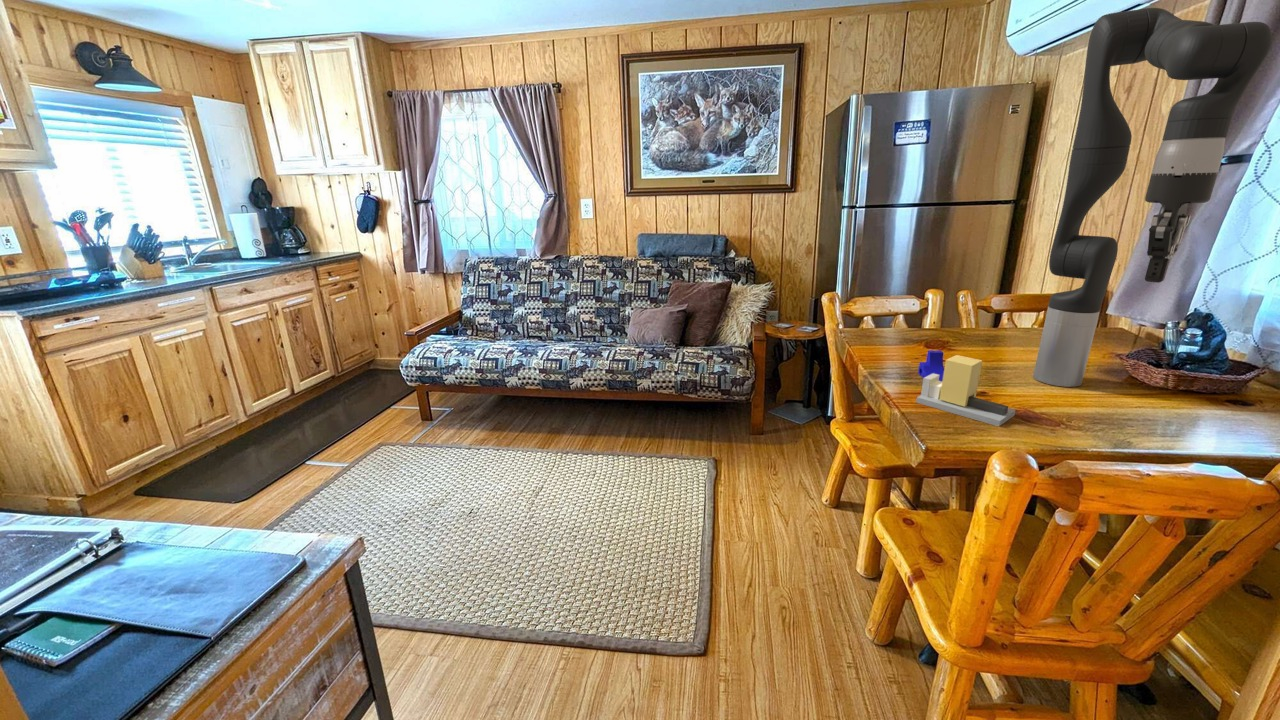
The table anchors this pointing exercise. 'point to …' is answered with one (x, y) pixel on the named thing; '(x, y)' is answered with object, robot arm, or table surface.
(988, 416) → the comb board
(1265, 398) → the table surface
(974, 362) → the pale yellow block
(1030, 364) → the table surface
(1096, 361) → the table surface
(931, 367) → the blue stepped block
